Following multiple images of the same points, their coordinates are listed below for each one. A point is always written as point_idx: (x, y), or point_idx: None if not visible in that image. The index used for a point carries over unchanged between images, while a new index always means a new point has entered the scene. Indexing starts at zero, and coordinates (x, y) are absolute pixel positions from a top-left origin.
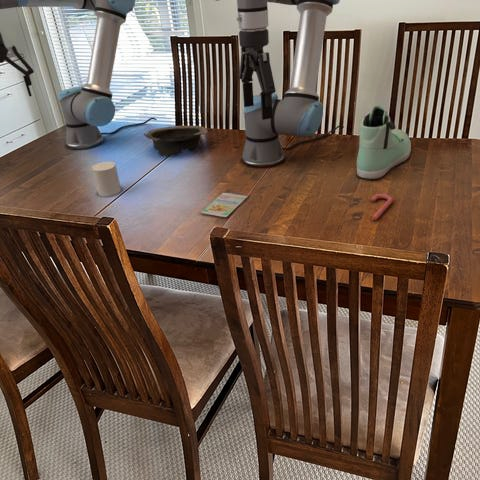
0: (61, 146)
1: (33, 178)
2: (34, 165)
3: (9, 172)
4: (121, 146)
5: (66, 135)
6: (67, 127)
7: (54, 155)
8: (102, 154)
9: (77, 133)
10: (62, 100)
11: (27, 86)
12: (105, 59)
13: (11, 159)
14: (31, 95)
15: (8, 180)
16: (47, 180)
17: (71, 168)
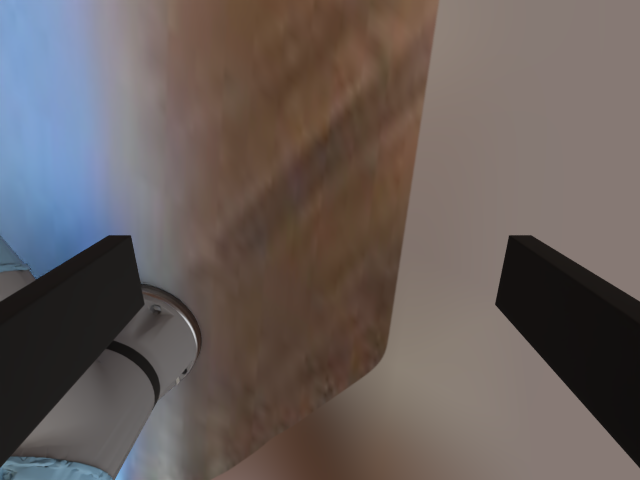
0: (218, 350)
1: (326, 118)
2: (310, 239)
3: (389, 226)
4: (22, 236)
5: (181, 359)
6: (156, 370)
7: (244, 288)
8: (87, 200)
9: (132, 327)
10: (80, 456)
11: (51, 281)
12: None
13: (369, 332)
14: (106, 238)
15: (403, 155)
16: (283, 64)
17: (196, 131)
